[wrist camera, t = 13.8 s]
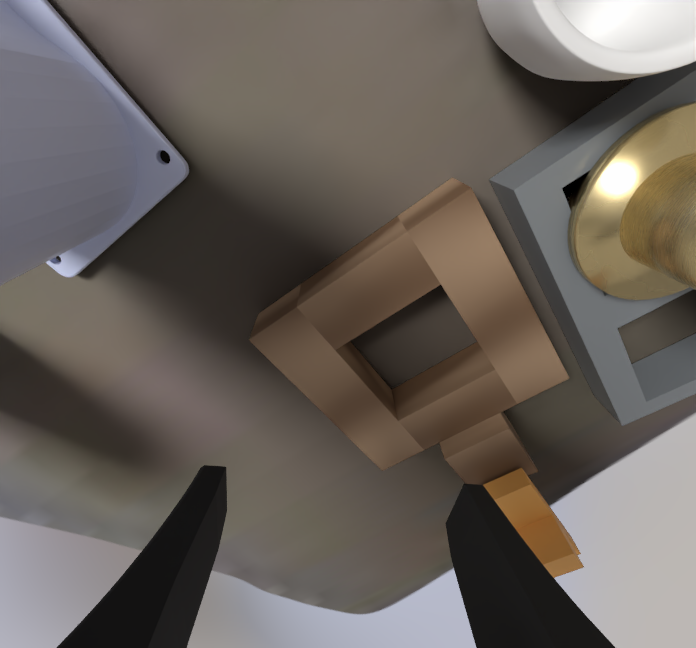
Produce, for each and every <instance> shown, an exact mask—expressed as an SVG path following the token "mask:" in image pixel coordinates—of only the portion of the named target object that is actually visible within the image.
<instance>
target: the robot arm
mask: <svg viewBox="0 0 696 648" xmlns="http://www.w3.org/2000/svg"><path fill="white" fill-rule="evenodd" d="M162 150H164V151H166V152H167V153H168V154H169V156H170V162H169V164H168V163H165V162H164V161H162V159H161V157H160V153H161V151H162ZM188 174H189V167H188V164H187V162H186V161H185V159H184V158H183V157H182V156H181V155H180V153H179V152H178V151H177V150H176V149H175V148H174V146H173V145H172V144H171V143H170V142H169V141H168V139H167V138H166V137H165V136H164V135H163V134H162V133H161V131H160V130H159V129H158V128H157V127H156V126H155V124H154V123H153V122H152V121H151V120H150V119H149V118H148V116H147V115H146V114H145V113H144V112H143V111H142V109H141V108H140V107H139V106H138V105H137V104H136V103H135V101H134V100H133V99H132V98H131V97H130V96H129V94H128V93H127V92H126V91H125V90H124V89H123V88H122V86H121V85H120V84H119V83H118V82H117V81H116V79H115V78H114V77H113V76H112V75H111V74H110V72H109V71H108V70H107V69H106V68H105V67H104V66H103V64H102V63H101V62H100V61H99V60H98V59H97V57H96V56H95V55H94V54H93V53H92V52H91V51H90V49H89V48H88V47H87V46H86V45H85V44H84V42H83V41H82V40H81V39H80V38H79V37H78V36H77V34H76V33H75V32H74V31H73V30H72V29H71V27H70V26H69V25H68V24H67V23H66V22H65V21H64V19H63V18H62V17H61V16H60V15H59V14H58V12H57V11H56V10H55V9H54V8H53V7H52V5H51V4H50V3H49V2H48V1H47V0H0V285H2V284H4V283H6V282H8V281H10V280H12V279H14V278H16V277H18V276H20V275H22V274H24V273H26V272H28V271H29V270H31V269H33V268H35V267H37V266H39V265H41V264H43V263H45V262H46V263H47V264H48V265H49V266H51V267H52V268H53V269H54V270H55V271H57V272H58V273H59V274H61V275H62V276H65V277H74V276H76V275H77V274H79V273H80V272H81V271H82V270H84V269H85V268H86V267H87V266H88V265H89V264H90V263H91V262H93V261H94V260H95V259H96V258H97V257H98V256H99V255H100V254H102V253H103V252H104V251H105V250H106V249H107V248H108V247H109V246H110V245H112V244H113V243H114V242H115V241H116V240H117V239H118V238H119V237H121V236H122V235H123V234H124V233H125V232H126V231H127V230H128V229H130V228H131V227H132V226H133V225H134V224H135V223H136V222H137V221H139V220H140V219H141V218H142V217H143V216H144V215H145V214H146V213H147V212H149V211H150V210H151V209H152V208H153V207H154V206H155V205H156V204H158V203H159V202H160V201H161V200H162V199H163V198H164V197H165V196H167V195H168V194H169V193H170V192H171V191H172V190H173V189H174V188H176V187H177V186H178V185H179V184H180V183H181V182H182V181H183V180H184V179H186V177H187V176H188ZM57 256H59V257H60V258H61V261H59V260H57V259H56V258H55V257H57ZM226 513H227V487H226V467H221V466H206V465H204V466H203V467H201V468H200V470H199V472H198V473H197V475H196V477H195V478H194V480H193V481H192V483H191V484H190V486H189V488H188V489H187V491H186V492H185V494H184V495H183V497H182V498H181V500H180V501H179V502H178V504H177V505H176V507H175V508H174V510H173V511H172V512H171V514H170V515H169V516H168V518H167V519H166V520H165V522H164V523H163V525H162V526H161V527H160V529H159V530H158V531H157V533H156V534H155V535H154V537H153V538H152V539H151V541H150V542H149V543H148V544H147V546H146V547H145V548H144V549H143V551H142V552H141V553H140V554H139V556H138V557H137V558H136V559H135V560H134V562H133V563H132V564H131V565H130V567H129V568H128V569H127V570H126V571H125V573H124V574H123V575H122V576H121V578H120V579H119V580H118V581H117V582H116V583H115V585H114V586H113V587H112V588H111V589H110V591H109V592H108V593H107V594H106V595H105V596H104V597H103V598H102V600H101V601H100V602H99V603H98V604H97V605H96V606H95V607H94V608H93V610H92V611H91V612H90V613H89V614H88V615H87V616H86V617H85V618H84V620H83V621H82V622H81V623H80V624H79V625H78V626H77V627H76V628H75V629H74V630H73V631H72V632H71V633H70V634H69V635H68V637H66V638H65V639H64V641H63V642H62V643H61V644H60V645H59V646H58V647H57V648H187V645H188V641H189V638H190V635H191V632H192V629H193V626H194V623H195V620H196V616H197V614H198V610H199V607H200V604H201V601H202V598H203V595H204V592H205V589H206V586H207V583H208V580H209V577H210V573H211V570H212V567H213V564H214V561H215V558H216V555H217V552H218V548H219V544H220V540H221V535H222V531H223V526H224V522H225V517H226ZM446 528H447V535H448V541H449V547H450V552H451V558H452V562H453V566H454V570H455V573H456V577H457V581H458V584H459V588H460V591H461V595H462V598H463V602H464V605H465V609H466V612H467V616H468V619H469V623H470V626H471V630H472V633H473V637H474V640H475V643H476V647H477V648H615V647H614V646H613V645H612V644H611V642H610V641H609V640H608V639H607V638H606V637H605V636H604V635H603V634H602V633H601V632H600V631H599V629H598V628H597V627H596V626H595V625H594V624H593V623H592V622H591V621H590V620H589V619H588V618H587V617H586V615H585V614H584V613H583V612H582V611H581V610H580V609H579V608H578V607H577V605H576V604H575V603H574V602H573V601H572V599H571V598H570V597H569V596H568V595H567V594H566V592H565V591H564V590H563V589H562V588H561V586H560V585H559V584H558V583H557V582H556V580H555V579H554V578H553V577H552V575H551V574H550V573H549V572H548V570H547V569H546V568H545V567H544V566H543V564H542V563H541V562H540V560H539V559H538V558H537V557H536V555H535V554H534V553H533V551H532V550H531V549H530V548H529V546H528V545H527V544H526V542H525V541H524V540H523V538H522V537H521V536H520V534H519V533H518V532H517V530H516V529H515V528H514V526H513V525H512V524H511V522H510V521H509V520H508V518H507V517H506V516H505V514H504V513H503V511H502V510H501V509H500V507H499V506H498V505H497V503H496V502H495V501H494V499H493V498H492V496H491V495H490V494H489V492H488V491H487V490H486V488H485V487H484V486H483V485H477V484H464V485H463V487H462V489H461V492H460V494H459V496H458V498H457V500H456V502H455V505H454V507H453V509H452V511H451V513H450V515H449V518H448V520H447V522H446Z"/></svg>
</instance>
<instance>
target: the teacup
mask: <svg viewBox="0 0 696 648" xmlns="http://www.w3.org/2000/svg"><path fill="white" fill-rule="evenodd" d="M477 4H478V8H479V11H480V14H481V17H482V20H483V22H484V24H485V26H486V28H487V30H488V32H489V34H490V35H491V37H492V39H493V40H494V41H495V43H496V44H497V45H498V46H499V47H500V48H501V49H502V50H503V51H504V52H505V53H506V54H507V55H509V56H510V57H511V58H512V59H513V60H515V61H516V62H517V63H519V64H520V65H521V66H523V67H524V68H526V69H527V70H529V71H531V72H533V73H535V74H537V75H540V76H543V77H547V78H551V79H558V80H568V81H612V80H623V79H632V78H638V77H644V76H648V75H653V74H657V73H661V72H665V71H669V70H672V69H676V68H679V67H682V66H685V65H688V64H690V63H693V62H695V61H696V0H477Z"/></svg>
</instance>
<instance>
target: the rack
mask: <svg viewBox="0 0 696 648" xmlns="http://www.w3.org/2000/svg"><path fill="white" fill-rule="evenodd" d="M694 101H696V61H695V62H693V63H690V64H688V65H685V66H682V67H679V68H676V69H672V70H669V71H665V72H661V73H657V74H653V75H648V76H644V77H639V78H638V79H636V80H635V81H633V82H632V83H630V84H629V85H627V86H626V87H624V88H623V89H621V90H620V91H618V92H617V93H615V94H614V95H613V96H611V97H610V98H608V99H607V100H605V101H604V102H602V103H601V104H599V105H598V106H596V107H595V108H593V109H592V110H590V111H589V112H588V113H586V114H585V115H583V116H582V117H580V118H579V119H577V120H576V121H574V122H573V123H571V124H570V125H568V126H567V127H566V128H564V129H563V130H561V131H560V132H558V133H557V134H555V135H554V136H552V137H551V138H549V139H548V140H546V141H545V142H543V143H542V144H541V145H539V146H538V147H536V148H535V149H533V150H532V151H530V152H529V153H527V154H526V155H524V156H523V157H521V158H520V159H518V160H517V161H516V162H514V163H513V164H511V165H510V166H508V167H507V168H505V169H504V170H502V171H501V172H499V173H498V174H496V175H495V176H493V177H492V178H491V179H489V181H490V183H491V185H492V187H493V189H494V191H495V193H496V195H497V197H498V199H499V202H500V204H501V206H502V208H503V210H504V212H505V214H506V216H507V218H508V220H509V222H510V224H511V226H512V228H513V230H514V232H515V234H516V236H517V239H518V241H519V243H520V245H521V247H522V249H523V251H524V253H525V255H526V257H527V259H528V261H529V263H530V265H531V267H532V269H533V271H534V273H535V275H536V278H537V280H538V282H539V284H540V286H541V288H542V290H543V292H544V294H545V296H546V298H547V300H548V302H549V304H550V306H551V308H552V310H553V312H554V315H555V317H556V319H557V321H558V323H559V325H560V327H561V329H562V331H563V333H564V335H565V337H566V339H567V341H568V343H569V345H570V347H571V349H572V352H573V354H574V356H575V358H576V360H577V362H578V364H579V366H580V368H581V370H582V372H583V374H584V376H585V378H586V380H587V382H588V384H589V386H590V389H591V391H592V393H593V395H594V396H595V397H596V398H597V399H598V400H599V401H600V403H601V404H602V405H603V406H604V407H605V408H606V409H607V410H608V411H609V412H610V413H611V414H612V415H613V417H614V418H615V419H616V420H617V421H618V422H619V423H620V424H621V425H622V426H624V425H626V424H628V423H630V422H633V421H635V420H637V419H639V418H642V417H644V416H646V415H648V414H651V413H653V412H655V411H657V410H660V409H662V408H664V407H666V406H669V405H671V404H673V403H675V402H678V401H680V400H682V399H684V398H687V397H689V396H691V395H694V394H696V333H695V334H693V335H691V336H689V337H687V338H685V339H683V340H681V341H679V342H677V343H675V344H672V345H670V346H668V347H666V348H664V349H662V350H660V351H658V352H656V353H654V354H652V355H650V356H648V357H646V358H643V359H641V360H639V361H637V362H635V363H633V364H631V362H630V359H629V357H628V354H627V352H626V349H625V346H624V344H623V341H622V339H621V336H620V334H619V331H618V329H617V328H619V327H621V326H623V325H625V324H627V323H629V322H631V321H633V320H635V319H637V318H639V317H641V316H643V315H644V314H646V313H648V312H650V311H652V310H654V309H656V308H658V307H660V306H662V305H664V304H666V303H668V302H670V301H672V300H674V299H676V298H678V297H680V296H682V295H683V294H685V293H687V292H689V291H691V290H693V288H691V287H689V288H687V289H685V290H682V291H679V292H677V293H674V294H671V295H667V296H664V297H660V298H654V299H647V300H630V299H623V298H618V297H615V296H613V295H610V294H608V293H606V292H604V291H602V290H601V289H599V288H598V287H596V286H594V285H593V284H591V283H590V282H589V281H587V280H586V279H585V278H584V277H583V276H582V275H581V274H580V273H579V271H578V270H577V269H576V267H575V265H574V263H573V261H572V258H571V255H570V252H569V247H568V224H569V218H570V214H571V210H570V207H569V204H568V202H567V199H566V197H565V194H564V192H563V189H562V188H563V187H565V186H566V185H568V184H569V183H571V182H572V181H574V180H576V179H577V178H579V177H580V176H582V175H583V174H585V173H586V172H588V171H590V170H591V169H592V167H593V166H594V165H595V163H596V162H597V161H598V160H599V158H600V157H601V156H602V155H603V154H604V153H605V152H606V150H607V149H608V148H609V147H610V146H611V145H612V144H613V143H614V142H615V141H617V140H618V139H619V138H620V137H621V136H622V135H623V134H625V133H626V132H627V131H629V130H630V129H631V128H633V127H634V126H635V125H637V124H638V123H640V122H642V121H643V120H645V119H647V118H648V117H650V116H652V115H654V114H656V113H658V112H660V111H662V110H665V109H667V108H670V107H673V106H676V105H679V104H684V103H689V102H694Z"/></svg>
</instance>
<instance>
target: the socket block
mask: <svg viewBox="0 0 696 648" xmlns="http://www.w3.org/2000/svg"><path fill="white" fill-rule="evenodd" d="M439 285H442V287H443V288H444V290H445V292H446V293H447V295H448V296H449V298H450V299H451V301H452V302H453V304H454V306H455V307H456V309H457V310H458V312H459V313H460V315H461V317H462V318H463V320H464V321H465V323H466V324H467V326H468V328H469V329H470V331H471V332H472V334H473V335H474V337H475V339H476V340H477V342H476V343H474V344H472V345H471V346H469V347H467V348H465V349H463V350H462V351H460V352H458V353H456V354H454V355H453V356H451V357H449V358H447V359H446V360H444V361H442V362H440V363H438V364H437V365H435V366H433V367H431V368H429V369H428V370H426V371H424V372H422V373H420V374H419V375H417V376H415V377H413V378H412V379H410V380H408V381H406V382H404V383H403V384H401V385H399V386H397V387H395V388H394V389H392V390H391V389H390V387H389V386H388V385H387V384H386V383H385V382H384V380H383V379H382V378H381V377H380V376H379V375H378V373H377V372H376V371H375V370H374V369H373V368H372V366H371V365H370V364H369V363H368V362H367V360H366V359H365V358H364V357H363V356H362V355H361V353H360V352H359V351H358V350H357V349H356V348H355V346H354V345H353V344H352V343H351V342H350V341H351V340H352V339H354V338H356V337H357V336H359V335H360V334H362V333H364V332H365V331H367V330H369V329H370V328H372V327H373V326H375V325H377V324H378V323H380V322H381V321H383V320H385V319H386V318H388V317H389V316H391V315H393V314H394V313H396V312H397V311H399V310H401V309H402V308H404V307H405V306H407V305H409V304H410V303H412V302H414V301H415V300H417V299H418V298H420V297H422V296H423V295H425V294H426V293H428V292H430V291H431V290H433V289H434V288H436V287H438V286H439ZM249 341H250V342H251V343H252V344H253V345H254V346H255V347H256V348H257V349H258V350H259V351H260V352H261V353H262V354H264V355H265V356H266V357H267V358H268V359H269V360H270V361H271V362H272V363H273V364H274V365H275V366H276V367H277V368H278V369H279V370H280V371H281V372H282V373H283V374H284V375H285V376H286V377H287V378H288V379H289V380H290V381H291V382H292V383H293V384H294V385H295V386H296V387H297V388H298V389H299V390H300V391H301V392H302V393H303V394H304V395H305V396H306V397H307V398H308V399H309V400H310V401H311V402H313V403H314V404H315V405H316V406H317V407H318V408H319V409H320V410H321V411H322V412H323V413H324V414H325V415H326V416H327V417H328V418H329V419H330V420H331V421H332V422H333V423H334V424H335V425H336V426H337V427H338V428H339V429H340V430H341V431H342V432H343V433H344V434H345V435H346V436H347V437H348V438H349V439H350V440H351V441H352V442H353V443H354V444H355V445H356V446H357V447H358V448H359V449H360V450H362V451H363V452H364V453H365V454H366V455H367V456H368V457H369V458H370V459H371V460H372V461H373V462H374V463H375V464H376V465H377V466H378V467H379V468H380V469H381V470H382V471H383V470H385V469H387V468H389V467H391V466H393V465H395V464H397V463H399V462H401V461H403V460H405V459H407V458H410V457H412V456H414V455H416V454H418V453H420V452H422V451H424V450H426V449H428V448H430V447H432V446H434V445H436V444H438V443H440V446H441V449H442V453H443V456H444V459H445V460H446V461H447V462H448V464H449V465H450V466H451V467H452V468H453V469H454V471H455V472H456V473H457V474H458V475H459V476H460V478H461V479H462V480H463V481H464V482H465V483H466V484H477V485H484V484H486V483H488V482H491V481H493V480H495V479H497V478H500V477H502V476H504V475H506V474H509V473H511V472H513V471H515V470H518V469H520V468H522V469H523V470H524V472H525V473H526V474H527V476H529V475H531V474H533V473H536V472H538V469H537V468H536V466H535V464H534V463H533V461H532V459H531V457H530V456H529V454H528V452H527V450H526V449H525V447H524V445H523V443H522V442H521V440H520V438H519V436H518V435H517V433H516V431H515V430H514V428H513V426H512V424H511V423H510V421H509V420H508V418H507V417H506V415H505V414H504V412H503V411H505V410H507V409H509V408H511V407H513V406H515V405H517V404H519V403H521V402H523V401H525V400H527V399H529V398H531V397H533V396H535V395H537V394H539V393H541V392H543V391H545V390H547V389H549V388H551V387H553V386H555V385H557V384H559V383H561V382H563V381H565V380H567V379H569V376H568V374H567V372H566V370H565V369H564V367H563V365H562V363H561V361H560V359H559V357H558V355H557V353H556V351H555V349H554V347H553V345H552V343H551V341H550V339H549V337H548V336H547V334H546V332H545V330H544V328H543V326H542V324H541V322H540V320H539V318H538V316H537V314H536V312H535V310H534V308H533V306H532V304H531V303H530V301H529V299H528V297H527V295H526V293H525V291H524V289H523V287H522V285H521V283H520V281H519V279H518V277H517V275H516V273H515V271H514V270H513V268H512V266H511V264H510V262H509V260H508V258H507V256H506V254H505V252H504V250H503V248H502V246H501V244H500V242H499V240H498V239H497V237H496V235H495V233H494V231H493V229H492V227H491V225H490V223H489V221H488V219H487V217H486V215H485V213H484V211H483V209H482V207H481V206H480V204H479V202H478V200H477V198H476V196H475V194H474V192H473V190H472V188H471V187H469V186H467V185H465V184H463V183H461V182H459V181H458V180H456V179H454V178H451V179H450V180H448V181H447V182H445V183H444V184H442V185H441V186H440V187H438V188H437V189H435V190H434V191H432V192H431V193H430V194H428V195H427V196H425V197H424V198H423V199H421V200H420V201H418V202H417V203H415V204H414V205H413V206H411V207H410V208H408V209H407V210H405V211H404V212H403V213H401V214H400V215H398V216H397V217H395V218H394V219H393V220H391V221H390V222H388V223H387V224H385V225H384V226H383V227H381V228H380V229H378V230H377V231H375V232H374V233H373V234H371V235H370V236H368V237H367V238H366V239H364V240H363V241H361V242H360V243H358V244H357V245H356V246H354V247H353V248H351V249H350V250H348V251H347V252H346V253H344V254H343V255H341V256H340V257H338V258H337V259H336V260H334V261H333V262H331V263H330V264H328V265H327V266H326V267H324V268H323V269H321V270H320V271H319V272H317V273H316V274H314V275H313V276H311V277H310V278H309V279H307V280H306V281H304V282H303V283H301V284H300V285H299V286H297V287H296V288H294V289H293V290H291V291H290V292H289V293H287V294H286V295H284V296H283V297H281V298H280V299H279V300H277V301H276V302H274V303H273V304H272V305H270V306H269V307H267V308H266V309H264V310H263V311H262V312H260V313H259V314H258V316H257V319H256V322H255V324H254V327H253V330H252V332H251V335H250V338H249Z"/></svg>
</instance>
